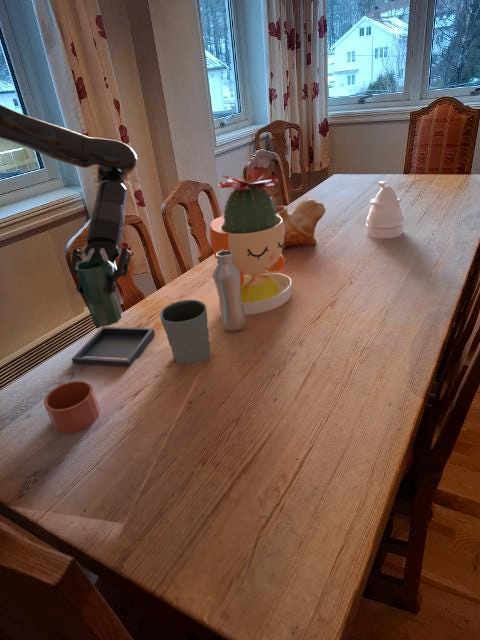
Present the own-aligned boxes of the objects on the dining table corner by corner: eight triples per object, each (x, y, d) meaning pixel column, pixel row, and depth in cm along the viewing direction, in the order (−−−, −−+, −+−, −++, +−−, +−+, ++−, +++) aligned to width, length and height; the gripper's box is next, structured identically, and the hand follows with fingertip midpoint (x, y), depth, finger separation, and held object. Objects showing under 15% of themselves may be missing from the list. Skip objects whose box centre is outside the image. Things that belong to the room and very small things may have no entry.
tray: (73, 365, 101) (71, 358, 100) (104, 333, 113) (102, 326, 112) (130, 369, 97) (128, 361, 96) (155, 335, 109) (153, 328, 108)
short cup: (44, 433, 81) (34, 409, 78) (70, 402, 89) (61, 379, 86) (85, 437, 79) (76, 412, 76) (108, 405, 87) (100, 382, 84)
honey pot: (359, 235, 157) (361, 185, 148) (375, 225, 165) (377, 177, 156) (393, 240, 149) (397, 187, 140) (408, 229, 157) (412, 179, 149)
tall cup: (88, 326, 99) (69, 270, 92) (102, 312, 104) (86, 258, 98) (112, 327, 97) (96, 270, 90) (125, 312, 103) (111, 258, 96)
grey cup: (221, 349, 100) (215, 304, 94) (195, 373, 93) (186, 325, 87) (188, 340, 105) (180, 296, 100) (160, 361, 98) (150, 316, 92)
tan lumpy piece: (332, 242, 154) (332, 200, 146) (262, 255, 150) (258, 213, 142) (317, 231, 166) (316, 192, 158) (252, 243, 162) (248, 203, 154)
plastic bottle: (247, 333, 105) (239, 256, 96) (220, 335, 106) (209, 259, 96) (247, 320, 111) (238, 246, 101) (221, 322, 111) (210, 249, 102)
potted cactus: (306, 292, 121) (302, 163, 104) (246, 322, 110) (231, 183, 93) (256, 273, 137) (245, 158, 119) (199, 298, 125) (178, 175, 108)
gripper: (70, 218, 98) (56, 287, 94) (127, 216, 94) (115, 288, 90) (88, 233, 105) (76, 298, 101) (142, 231, 101) (132, 298, 97)
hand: (95, 293), depth 96 cm, fingers closed on tall cup, 6 cm apart
